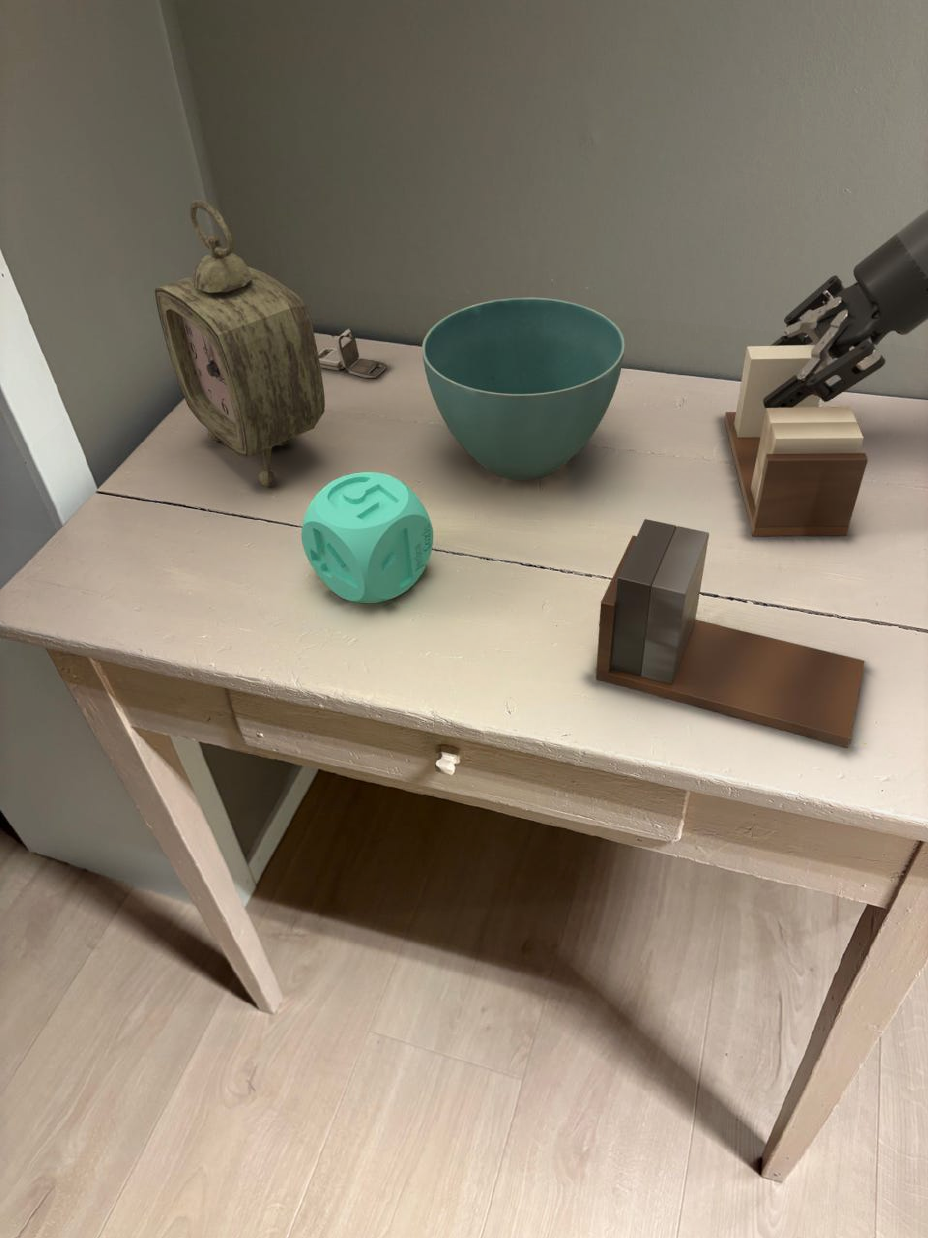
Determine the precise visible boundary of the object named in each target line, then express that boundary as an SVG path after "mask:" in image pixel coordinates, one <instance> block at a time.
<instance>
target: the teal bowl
mask: <svg viewBox="0 0 928 1238" xmlns="http://www.w3.org/2000/svg"><path fill="white" fill-rule="evenodd" d="M625 344H626V342H625V338H624V335H623V333H622V331H621V329H620V328H619V326H618V325H617V324H616V323H615V322H614V321H613V320H612V319H610V318H609V317H607V316H606V315H604V314H603V313H601V312H599V311H597V310H595V309H592V308H590V307H588V306H585V305H582V304H578V303H575V302H571V301H569V300H563V299H562V300H561V299H556V298H546V297H511V298H502V299H501V298H500V299H493V300H489V301H484V302H479V303H476V304H473V305H469V306H467V307H464V308H462V309H459V310H456V311H455V312H452V313H450V314H448V315H446V316H445V317H443V318H442V319H440V320H439V321H438V322H436V323H435V324H434V325H433V326H432V327H431V328H430V329H429V330H428V332H427V333H426V335H425V337H424V338H423V341H422V344H421V353H422V360H423V367H424V371H425V375H426V380H427V383H428V386H429V389H430V392H431V395H432V398H433V401H434V403H435V405H436V407H437V410H438V411H439V414H440V416H441V418H442V420H443V421H444V423H445V425H446V426H447V428H448V430H449V431H450V433H451V434H452V436H453V437H454V439H455V440H456V441H457V442H458V444H459V445H460V446H461V447H462V449H464V451H466V452H467V454H469V455H470V456H471V457H472V458H473V459H474V460H475V461H476V462H477V463H478V464H480V465H481V466H482V467H483V468H484V469H486V470H487V471H489V472H490V473H492V474H494V475H496V476H499V477H502V478H506V479H510V480H518V481H519V480H522V481H523V480H524V481H526V480H533V479H539V478H543V477H546V476H548V475H551V474H553V473H555V472H557V471H558V470H559V469H561V468H562V467H563V466H565V465H566V464H567V463H568V462H569V461H570V460H571V459H572V458H573V457H575V455H577V454H578V452H580V451H581V449H583V447H584V446H585V445H587V443H588V442H589V440H590V439H591V438H592V436H593V435H594V434H595V432H596V431H597V430H598V427H599V426H600V424H601V422H602V421H603V419H604V417H605V415H606V413H607V411H608V409H609V407H610V404H611V403H612V400H613V398H614V395H615V392H616V389H617V386H618V384H619V383H618V382H619V380H620V376H621V372H622V368H623V361H624V356H625V349H626V347H625V346H626V345H625Z"/></svg>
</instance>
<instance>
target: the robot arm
mask: <svg viewBox="0 0 928 1238" xmlns="http://www.w3.org/2000/svg"><path fill="white" fill-rule="evenodd" d="M852 272H853V277H854V278H855V280H856V282H854V283H853V284H851V285H849V286H846V285H845V283H844V282H843V281H842V279H840V277H839V276H838V275H836V274H835V275H832V276H831V277H829V278H828V279H827V280H825V282H823V283H822V284H821V285H820V286H819V287H818V288H817V289H816V290H814V291H813V292H812V293H811V294H809V296H808V297H806V298H805V299H804V300H803V301H802V302H801V303H799V304H798V305H797V306H796V307H795V308H793V309H792V310H791V311H790V312H789V313H788V314H787V315H785V317H784V318H783V322H784V324H785V325H786V327H785V328H784V329H783V330H782V331H781V337H779V338H778V339H777V340H775V341H774V342H773V343H772V344H770V345H769V346H794V345H816V346H815V347H814V348H813V349H812V351H811V359H810V360H809V362H808V363H807V364H806V365H805V366H804V368H803V369H802V370H801V371H800V372H799V374H798V376H796V375H794V376H793V377H792V378H790V379H789V380H788V381H786V382H785V383H784V384H782V385H781V386H780V387H778V388H777V389H776V390H774V391H773V392H772V393H770V394H769V395H768V396H766V397H765V398H764V399H763V404H764V407H765V408H793V407H794V406H796V405H797V404H798V403H800V402H801V401H803V400H804V399H805V398H807V397H808V396H810V395H814V396H818V397H820V400H822V402H824V403H827V402H831V400H833V399H835V398H837V397H838V396H840V395H841V394H843V393H844V392H845V391H847V390H849V389H851V388H852V387H853V386H855V385H857V384H858V383H860V382H861V381H863V380H864V379H866V378H867V377H869V376H871V375H873V374H874V373H875V372H877V371H879V370H880V369H882V367H884V365H885V364H886V361H887V360H886V358H885V357H883V355H882V354H881V352H880V351H879V349H878V345H879V344H880V342H881V341H882V340H883V339H884V338H885V337H886V336H887V335H888V334H889V333H891V332H896V333H897V335H900V336H906V335H908V334H910V333H911V332H912V331H914V330H915V329H916V328H918V327H919V326H921V325H922V324H923V323H925V322H926V321H928V209H926V210H925V211H923V212H922V213H920V214H919V215H918V216H917V217H915V218H914V219H913V220H912V221H910V222H909V223H908V224H907V225H905V226H904V227H902V228H901V229H900V230H899V231H897V232H896V233H895V234H894V235H892V237H890V238H889V239H888V240H886V241H885V242H884V243H883V244H881V245H880V246H879V247H878V248H876V249H875V250H874V251H872V252H871V253H870V254H869V255H868V256H866V257H864V259H862V260H861V261H860V262H858V263H857V264H856V265H855V266H854V268H853V271H852ZM801 318H802V319H801ZM834 359H835V360H834ZM820 365H821V366H822V367H823V369H822V370H820V371H819V372H817V373H816V374H814V373H815V371H816V370H817V369H818V368H819V366H820ZM836 377H837V378H840V379H839V380H837V381H836V382H834V383H833V384H831V382H832V381H833V380H834V379H835V378H836ZM830 384H831V385H830Z"/></svg>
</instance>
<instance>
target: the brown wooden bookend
mask: <svg viewBox="0 0 928 1238" xmlns="http://www.w3.org/2000/svg"><path fill="white" fill-rule="evenodd" d="M709 539H710V532H707V531H703V530H698V529H693V528H689V527H684V526H680V525H676V524H671V523H666V522H662V521H656V520H652V519H648V518H644V520H643V521H642V524H641V526H640V528H639V531H638V532H637V535H632V536H631V538H630V540H629V542H628V544H627V546H626V549H625V550H624V552H623V555H622V557H621V559H620V561H619V563H618V565H617V568H616V569H615V572H614V574H613V576H612V578H611V580H610V583H609V584H608V586H607V589H606V591H605V592H604V595H603V596H602V599H601V601H600V607H599V608H600V611H599V623H598V624H599V625H598V627H599V628H598V640H597V643H598V644H597V655H596V658H597V659H596V671H595V679H596V680H599V681H602V682H605V683H606V682H607V683H609V684H614V685H617V686H621V687H625V688H628V689H631V690H635V691H638V692H642V693H646V694H650V695H653V696H658V697H661V698H664V699H668V700H671V701H675V702H680V703H683V704H686V705H691V706H693V707H696V708H697V707H698V708H702V709H705V710H708V711H712V712H716V713H720V714H723V715H726V716H731V717H734V718H738V719H741V720H746V721H749V722H753V723H757V724H759V725H763V726H768V727H771V728H775V729H778V730H781V731H782V730H783V731H786V732H789V733H792V734H796V735H801V736H804V737H808V738H812V739H815V740H818V741H822V742H826V743H830V744H833V745H836V746H841V747H844V748H848V747H849V743H850V741H851V737H852V733H853V727H854V722H855V716H856V711H857V707H858V699H859V695H860V688H861V684H862V679H863V673H864V667H865V662H866V661H865V660H864V659H860V658H855V657H852V656H848V655H843V654H839V653H835V652H831V651H826V650H823V649H819V648H816V647H815V648H814V647H811V646H807V645H803V644H799V643H794V642H790V641H786V640H782V639H777V638H773V637H770V636H765V635H761V634H757V633H753V632H749V631H745V630H741V629H737V628H732V627H728V626H724V625H720V624H716V623H713V622H709V621H704V620H701V619H697V614H698V613H697V612H698V608H699V607H698V605H699V600H700V593H701V589H702V583H703V576H704V569H705V563H706V558H707V552H708V551H707V550H708V545H709Z"/></svg>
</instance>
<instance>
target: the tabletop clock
mask: <svg viewBox="0 0 928 1238" xmlns="http://www.w3.org/2000/svg"><path fill="white" fill-rule="evenodd" d="M198 209H201V210H203V211H204V212H206V213H208V214H209V216H211V217H212V218H213V219H214V220H215V221H216V222H217V224H218V225H219V227H220V228H221V231H222V233H223V234H224V235H225V238H226V243H227V247H226V248H224V247H222V244H221V239H220V237H219V235H216V234H211V235H209V236H208V235H206V234H205V232H204V230H203V229H201V227H200V225H199V223H198V219H197V210H198ZM189 215H190V219H191V223H192V226H193V228H194V231H195V232H196V234H197V236H198V238H199V240H200V241H201V242H202V243H203V245H204V246H205V247H206V248H207V249H208V250H209V252H210V254H207V255H205V256H204V257H202V258H201V259H200V260H199V261H198V263H197V264H196V266H195V268H194V271H193V275H191V276H189V277H185V278H182V279H180V280H176V281H174V282H171V283H168V284H165V285H162V286H159V287H156V288H154V295H155V303H156V308H157V312H158V317H159V321H160V326H161V329H162V332H163V336H164V340H165V345H166V347H167V351H168V354H169V357H170V361H171V363H172V366H173V370H174V373H175V377H176V379H177V382H178V385H179V388H180V391H181V393H182V396H183V397H184V400H185V402H186V405H187V407H188V408H189V410H190V411H191V413H192V414H193V415H194V417H196V419H197V421H199V422H200V424H202V426H203V427H204V428H206V429H207V436H208V438H209V439H210V440H212V441H213V442H218V441H219V442H221V443H222V444H223V445H224V446H226V447H227V448H228V449H230V450H231V451H232V452H234V453H235V454H237V455H238V456H240V457H242V458H247V459H249V458H251V457H253V456H255V455H257V454H259V453H262V461H263V470H262V471H261V472H260V473H259V475H258V479H259V482H260V484H261V485H262V486H264V487H271V486H273V485H274V484H275V483H276V481H277V476H276V473H275V472H274V471H273V470H272V469H271V461H272V459H271V458H272V455H271V454H272V450H273V447H275V446H285V445H287V444H288V443H289V440H291V439H294V438H295V437H298V436H300V435H302V434H304V433H307V432H309V431H311V430H314V429H315V427H316V426H317V424H318V422H319V421H320V419H321V418H322V417H323V415H324V413H325V407H326V399H325V398H326V397H325V388H324V381H323V375H322V368H321V367H320V361H319V356H318V353H319V351H318V346H317V341H316V335H315V332H314V327H313V323H312V320H311V316H310V314H309V311H308V308H307V305H306V304H305V302H303V300H302V299H301V297H300V296H298V294H297V293H295V292H294V291H292V290H291V289H289V288H288V287H287V286H286V285H284V284H283V283H282V282H280V281H278V280H276V278H274V277H272V276H270V275H269V274H267V273H265V272H263V271H261V270H259V269H257V268H254V267H251V266H247V264H246V262H245V261H244V260H243V259H242V258H241V257H240V256H238V255H237V254H235V253H233V251H234V241H233V237H232V233H231V231H230V228H229V225H228V224H227V222H226V220H225V219H224V217H223V215H222V214H221V213H220V211H219V210H218V209H217V208H216V207H214V206H213V205H212V204H210V203H209V202H207V201H205V200H204V199H203V200H202V199H196V200H193V201H192V203H190V207H189Z"/></svg>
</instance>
